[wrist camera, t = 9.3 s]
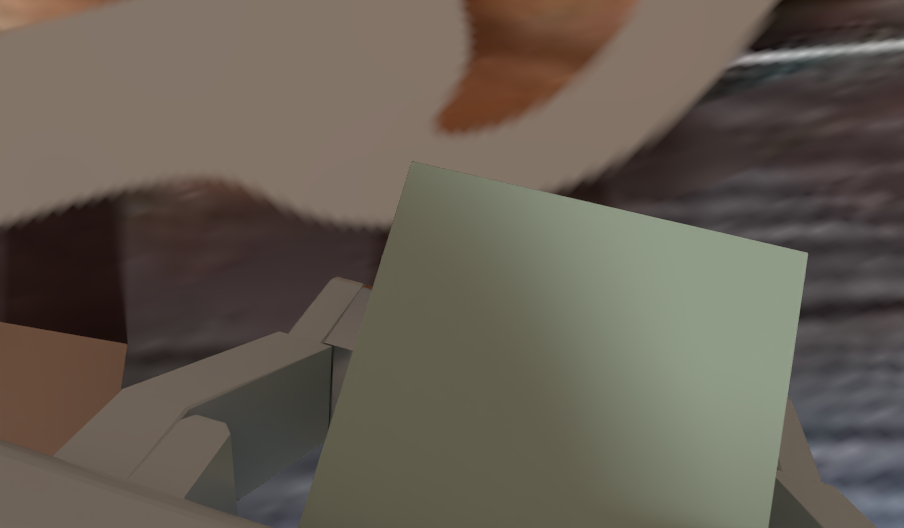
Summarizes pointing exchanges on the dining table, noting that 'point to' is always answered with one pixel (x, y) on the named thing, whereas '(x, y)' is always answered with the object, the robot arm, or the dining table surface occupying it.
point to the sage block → (559, 369)
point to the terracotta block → (53, 384)
